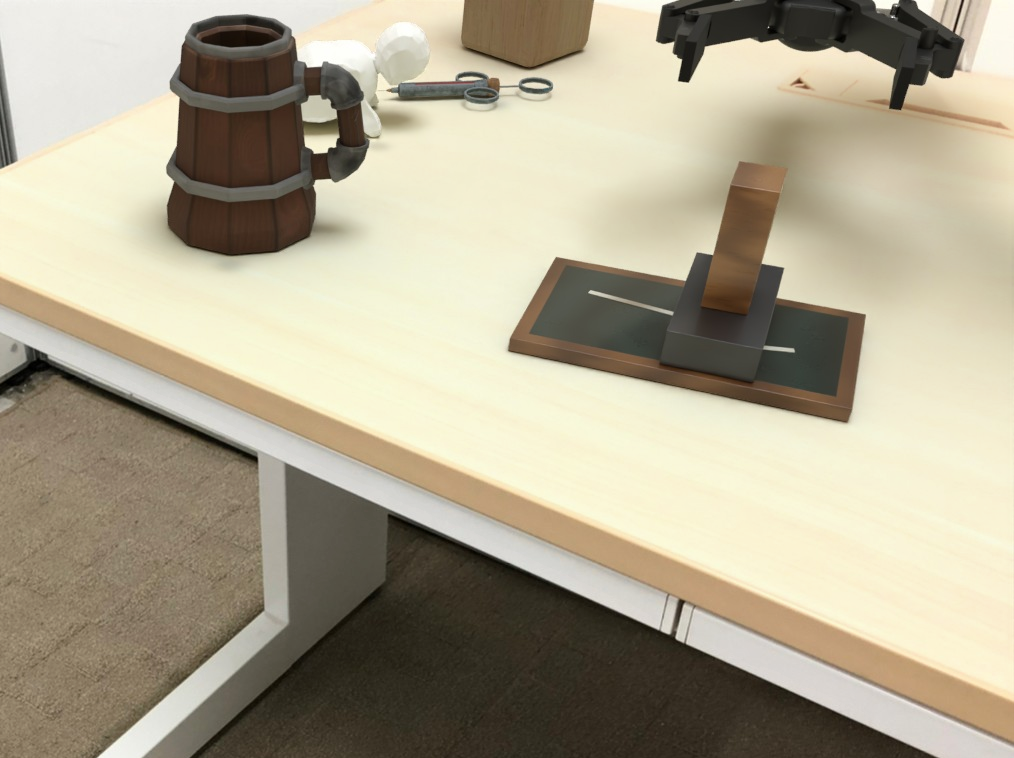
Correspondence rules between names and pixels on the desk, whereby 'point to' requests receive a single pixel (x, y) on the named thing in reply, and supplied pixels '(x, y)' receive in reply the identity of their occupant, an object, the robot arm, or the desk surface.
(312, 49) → the white animal figurine
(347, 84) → the mug
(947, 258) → the desk surface
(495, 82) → the syringe
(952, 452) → the desk surface
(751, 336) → the eraser
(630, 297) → the chalkboard
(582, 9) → the wooden block
